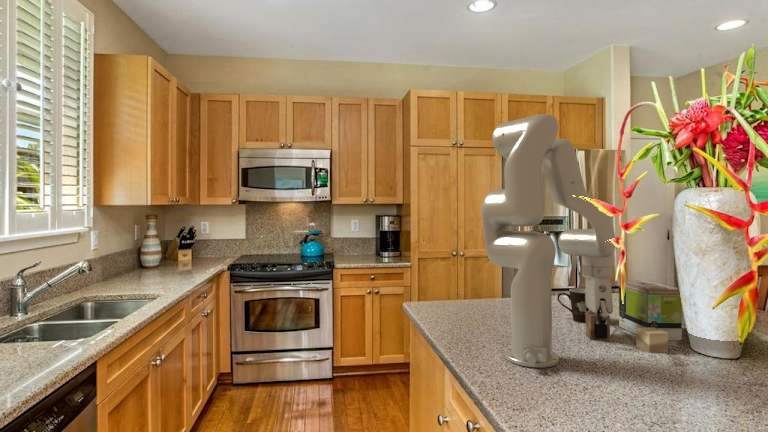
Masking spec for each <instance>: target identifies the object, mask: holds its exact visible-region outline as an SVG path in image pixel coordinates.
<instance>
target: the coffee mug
mask: <svg viewBox="0 0 768 432" xmlns="http://www.w3.org/2000/svg"><path fill="white" fill-rule="evenodd" d="M568 292H569V293H567V292H566V293H565V292H560V293H558V295H557V298H556V299H557V301H558V302H559V304H560V305H561V306H562V307H564V308H565V309H567V310H568V311H570V312H571V314H572V315H571V316H572V319H573V322H576V323H579V324H586V311H589V308H587V306H586V303H585V288H581V287H580V288H579V287H578V288H576V287H575V288H569V290H568ZM562 295H565V296H566V297H567V298H568V299H569V301H570V307H571V308H569V307H568V306H567V305H565V304H564V303H562V301H561V300H560V296H562Z"/></svg>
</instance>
